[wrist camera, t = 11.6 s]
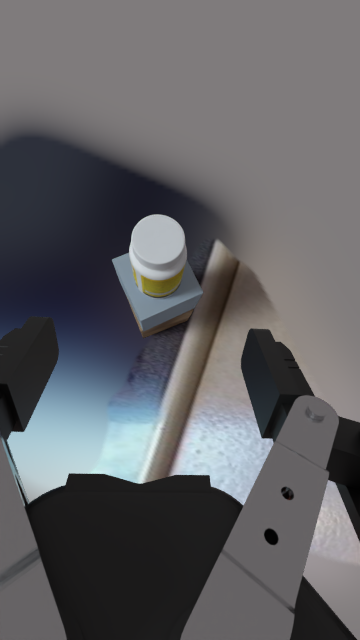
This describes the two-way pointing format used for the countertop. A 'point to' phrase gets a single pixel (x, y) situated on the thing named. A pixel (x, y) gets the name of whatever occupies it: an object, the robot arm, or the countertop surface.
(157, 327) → the walnut block
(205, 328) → the countertop surface
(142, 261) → the supplement bottle
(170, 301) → the slate block
